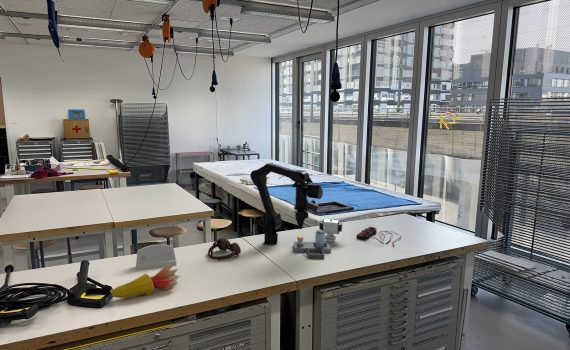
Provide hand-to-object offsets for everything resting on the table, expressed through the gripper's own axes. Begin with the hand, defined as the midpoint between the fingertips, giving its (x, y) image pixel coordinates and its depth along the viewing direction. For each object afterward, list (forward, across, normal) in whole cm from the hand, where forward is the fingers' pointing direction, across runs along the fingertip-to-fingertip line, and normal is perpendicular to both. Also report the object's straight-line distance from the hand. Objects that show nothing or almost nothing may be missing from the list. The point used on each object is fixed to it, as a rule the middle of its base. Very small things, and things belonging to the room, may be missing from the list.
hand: (300, 227), depth 189 cm
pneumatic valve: (+11, +13, -17) cm, 24 cm away
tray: (+11, -10, -7) cm, 16 cm away
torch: (+11, -49, +59) cm, 77 cm away
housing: (+11, 0, -6) cm, 13 cm away
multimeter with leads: (+12, +19, -45) cm, 50 cm away
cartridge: (+11, 0, -10) cm, 15 cm away
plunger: (+9, 0, 0) cm, 9 cm away
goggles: (+12, -11, +37) cm, 40 cm away
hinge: (+12, -23, +64) cm, 69 cm away
